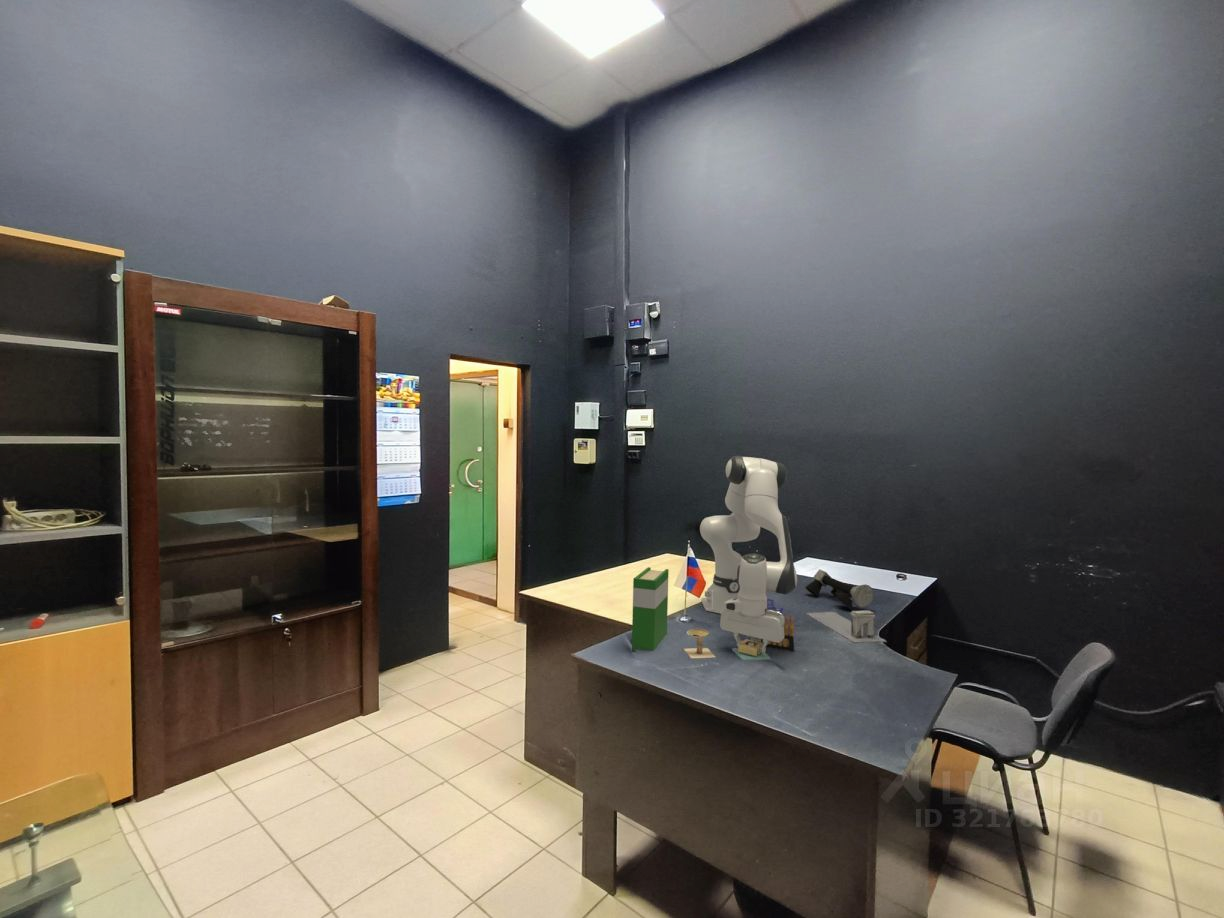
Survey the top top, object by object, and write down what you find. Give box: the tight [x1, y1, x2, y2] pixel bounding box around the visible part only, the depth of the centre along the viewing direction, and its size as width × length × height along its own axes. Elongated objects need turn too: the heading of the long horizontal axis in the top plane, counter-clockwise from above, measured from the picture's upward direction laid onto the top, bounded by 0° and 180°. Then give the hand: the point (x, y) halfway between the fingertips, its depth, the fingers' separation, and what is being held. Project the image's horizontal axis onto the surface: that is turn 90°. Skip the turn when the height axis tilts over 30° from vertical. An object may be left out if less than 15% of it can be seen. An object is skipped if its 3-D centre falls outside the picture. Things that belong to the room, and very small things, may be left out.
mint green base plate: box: [731, 642, 771, 662], centre depth 176 cm, size 9×9×5 cm
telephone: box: [805, 569, 874, 611], centre depth 242 cm, size 15×13×30 cm
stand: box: [683, 636, 716, 659], centre depth 176 cm, size 8×8×6 cm
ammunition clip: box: [761, 613, 795, 653], centre depth 186 cm, size 11×2×12 cm, turn 66°
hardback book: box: [631, 566, 670, 653], centre depth 187 cm, size 18×7×24 cm, turn 161°
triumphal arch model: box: [805, 610, 887, 644], centre depth 210 cm, size 12×33×10 cm, turn 10°
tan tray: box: [737, 638, 764, 656], centre depth 176 cm, size 6×6×2 cm
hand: (750, 649), depth 176 cm, fingers closed on tan tray, 6 cm apart
